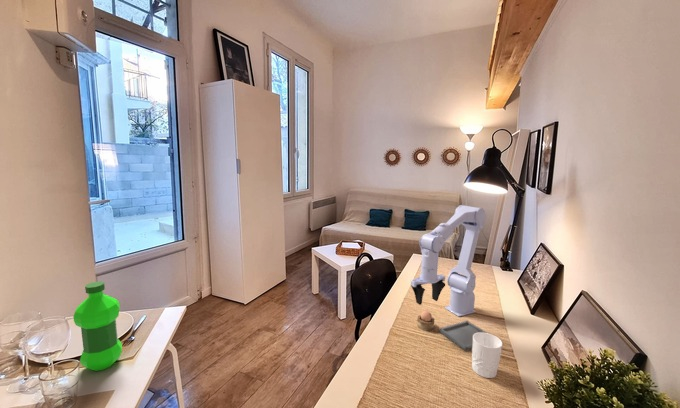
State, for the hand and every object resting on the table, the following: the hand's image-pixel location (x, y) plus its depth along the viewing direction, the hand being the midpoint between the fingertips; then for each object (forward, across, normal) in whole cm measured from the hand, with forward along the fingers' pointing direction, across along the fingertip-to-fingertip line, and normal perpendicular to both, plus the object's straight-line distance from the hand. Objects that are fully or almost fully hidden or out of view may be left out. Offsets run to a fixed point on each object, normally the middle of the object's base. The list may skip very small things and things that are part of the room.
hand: (426, 301), depth 112 cm
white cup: (+10, 0, +26) cm, 28 cm away
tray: (+10, -9, +11) cm, 17 cm away
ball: (+8, 0, 0) cm, 8 cm away
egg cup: (+10, 0, 0) cm, 10 cm away
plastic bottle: (+10, +103, -21) cm, 106 cm away
